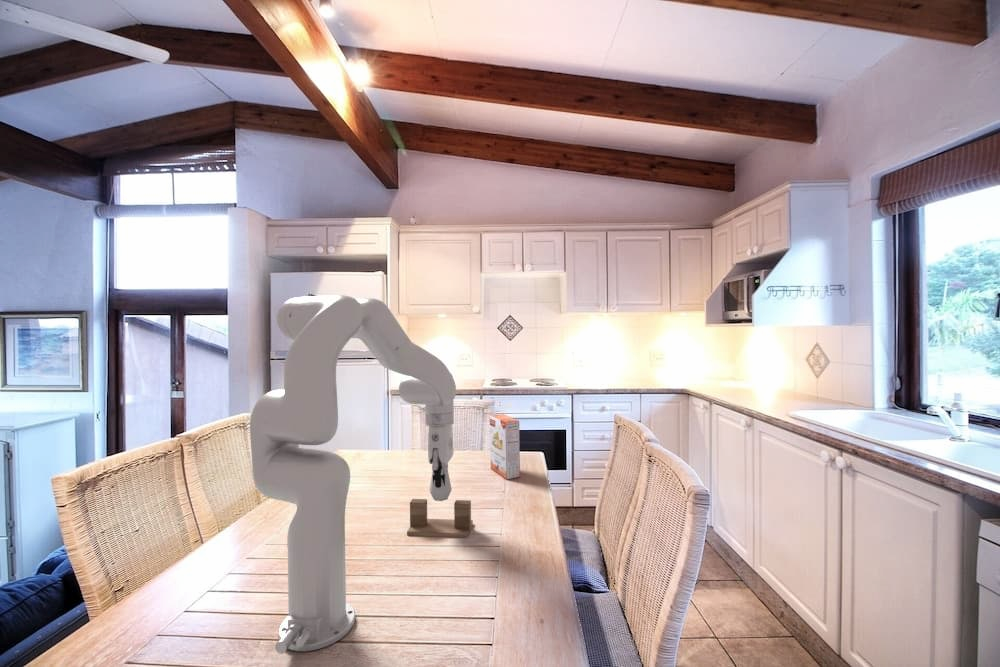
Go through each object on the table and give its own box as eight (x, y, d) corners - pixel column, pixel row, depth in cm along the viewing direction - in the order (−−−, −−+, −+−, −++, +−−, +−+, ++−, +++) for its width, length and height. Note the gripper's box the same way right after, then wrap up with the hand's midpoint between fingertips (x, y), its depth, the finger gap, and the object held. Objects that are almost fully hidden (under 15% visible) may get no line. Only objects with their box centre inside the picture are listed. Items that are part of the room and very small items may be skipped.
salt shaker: (447, 503, 114) (446, 453, 114) (426, 501, 115) (425, 452, 115) (454, 494, 120) (453, 447, 120) (434, 493, 121) (433, 446, 121)
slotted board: (467, 537, 113) (467, 508, 113) (406, 535, 114) (406, 506, 114) (472, 523, 121) (472, 496, 121) (415, 521, 122) (415, 494, 122)
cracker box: (489, 469, 168) (489, 414, 168) (503, 467, 171) (503, 413, 171) (505, 480, 155) (504, 421, 155) (520, 478, 158) (520, 419, 158)
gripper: (446, 425, 109) (447, 499, 109) (459, 412, 125) (460, 476, 125) (417, 425, 110) (418, 498, 110) (433, 412, 126) (434, 476, 126)
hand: (440, 486), depth 118 cm, fingers closed on salt shaker, 3 cm apart
